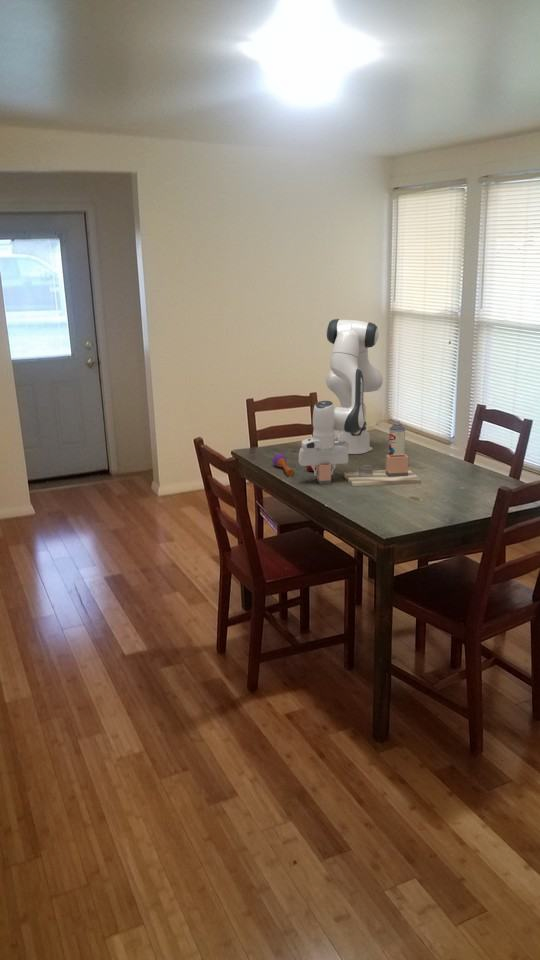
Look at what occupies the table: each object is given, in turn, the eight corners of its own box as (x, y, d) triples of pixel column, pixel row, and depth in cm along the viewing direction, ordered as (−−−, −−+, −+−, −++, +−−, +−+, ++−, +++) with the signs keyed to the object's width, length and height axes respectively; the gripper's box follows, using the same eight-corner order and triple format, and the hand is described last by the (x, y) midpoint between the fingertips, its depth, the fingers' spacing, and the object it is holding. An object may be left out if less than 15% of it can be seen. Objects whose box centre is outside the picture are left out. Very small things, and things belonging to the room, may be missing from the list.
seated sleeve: (388, 476, 301) (389, 457, 299) (385, 473, 305) (386, 455, 303) (407, 475, 302) (408, 457, 300) (404, 472, 306) (405, 454, 304)
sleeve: (316, 479, 305) (316, 460, 303) (326, 478, 306) (327, 459, 303) (319, 484, 297) (319, 465, 295) (330, 483, 298) (331, 464, 296)
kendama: (282, 468, 307) (270, 453, 325) (284, 481, 310) (272, 466, 328) (296, 465, 308) (283, 450, 326) (298, 477, 311) (285, 462, 329)
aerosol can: (385, 464, 325) (386, 420, 320) (399, 463, 327) (401, 419, 321) (392, 468, 319) (394, 423, 313) (406, 467, 321) (408, 421, 315)
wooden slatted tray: (343, 475, 309) (343, 461, 308) (408, 472, 313) (408, 458, 311) (352, 486, 294) (352, 471, 292) (420, 482, 297) (421, 468, 296)
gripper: (347, 439, 301) (346, 471, 305) (297, 441, 299) (297, 474, 303) (350, 442, 295) (350, 475, 299) (300, 444, 293) (300, 478, 296)
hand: (323, 475), depth 301 cm, fingers closed on sleeve, 5 cm apart
